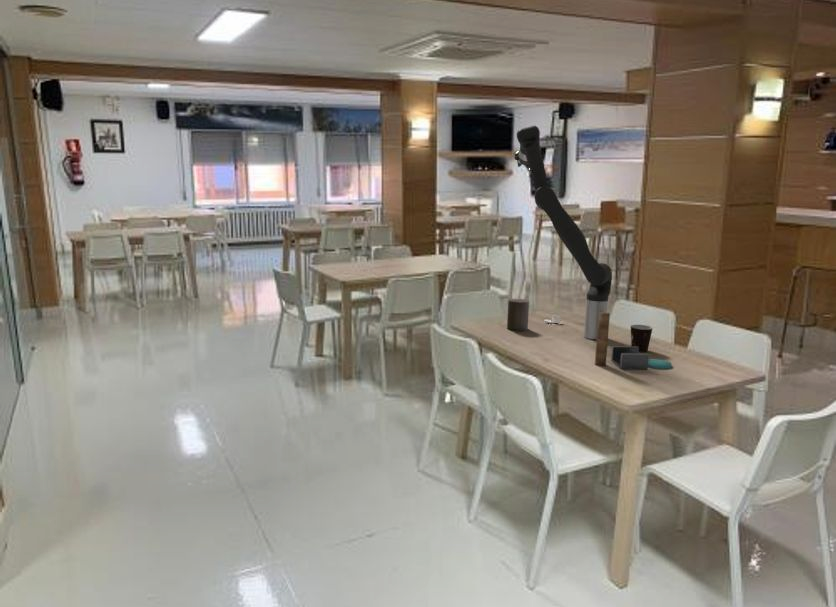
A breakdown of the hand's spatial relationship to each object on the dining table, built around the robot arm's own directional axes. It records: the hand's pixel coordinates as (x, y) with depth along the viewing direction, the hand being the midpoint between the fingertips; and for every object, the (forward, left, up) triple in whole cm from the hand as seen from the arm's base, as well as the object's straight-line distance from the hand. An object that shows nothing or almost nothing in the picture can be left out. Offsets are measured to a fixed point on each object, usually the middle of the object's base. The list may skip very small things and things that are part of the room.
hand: (525, 171), depth 325 cm
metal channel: (+98, +25, -73) cm, 125 cm away
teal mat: (+98, +36, -73) cm, 127 cm away
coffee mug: (+78, +36, -73) cm, 113 cm away
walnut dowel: (+98, +14, -73) cm, 123 cm away
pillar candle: (+41, -8, -73) cm, 84 cm away
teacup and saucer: (+25, +12, -74) cm, 79 cm away
